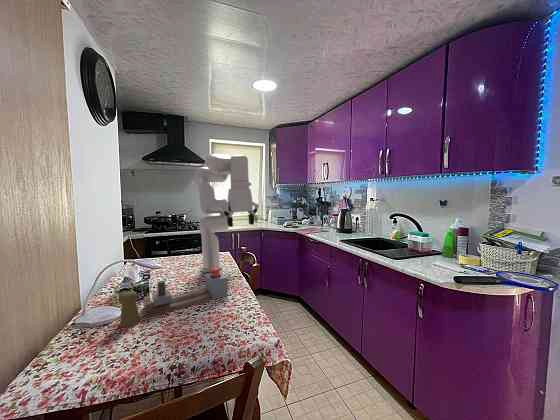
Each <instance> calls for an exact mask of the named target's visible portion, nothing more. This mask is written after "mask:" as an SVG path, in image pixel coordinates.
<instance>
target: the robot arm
mask: <svg viewBox="0 0 560 420" xmlns="http://www.w3.org/2000/svg"><path fill="white" fill-rule="evenodd" d="M204 165H205V166H201V167H197V168H196V169H195V171H194V181H195V183H196V184H195V185H197V189H198V192H199V204H200V205H199V207H200V212H202V214H205V215H209V216H204V217H201V218H200V219H199V221H198V224H199V231H200V237H201V251H202V252H201V253H202V266H201V267H200V269H199V270H200V272H203V273H205V272H206V273H211V272H210V270H209V269H210V268H213V267H220V268H221V270H222V268H223V265H222V264H221V263H220V247H219V246H220V245H219V237H218V235H216V232H224V231H228V229H229V228H232V227H233V226H234V223H233V222H234V219H233V217H232V216H233V215H234V213H246V212H247V213H249V215H248V224H249V225H251V226H253V225H255V224H254V223H255V215H256V214H257V212H258V209H259V207H260V205H259V204H258V203H256V202H254V201H253V195H252V190H251V188H250V186H252V182H250V181H249V159H248V157H247V156H246V155H243V154H237V155H232V156H230V155H229V154H222V153H221V154H219V153H211V154H208V155H207V156H206V157H205V158H204ZM229 176H230V188H228V193H227V199H226V198H225V197H221V196H220V197H215V189H214V187H213V186H212V185H211V184H210V183H224V182H226V181H227V179H228V177H229ZM253 207H254V208H253ZM210 214H211V215H210ZM212 214H219V215H212Z"/></svg>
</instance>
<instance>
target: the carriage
mask: <svg viewBox="0 0 560 420" xmlns="http://www.w3.org/2000/svg"><path fill="white" fill-rule="evenodd" d="M156 283H157V291H156V292H152V293H151V294H152V301H153V302H154V305H155V306H159V305H163V304H167V303H170V302H172V294H171V292H170V290H169V289H166V284H165V280H162V281H161V280H160V281H157V282H156Z"/></svg>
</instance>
